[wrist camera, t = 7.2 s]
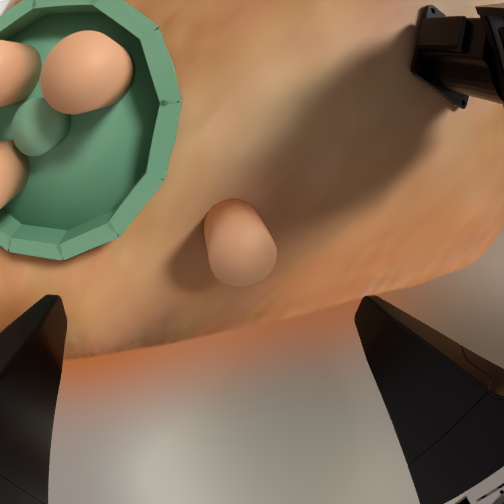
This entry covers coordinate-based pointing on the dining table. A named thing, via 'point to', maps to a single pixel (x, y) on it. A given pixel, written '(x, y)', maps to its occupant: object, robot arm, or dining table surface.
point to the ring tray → (87, 134)
